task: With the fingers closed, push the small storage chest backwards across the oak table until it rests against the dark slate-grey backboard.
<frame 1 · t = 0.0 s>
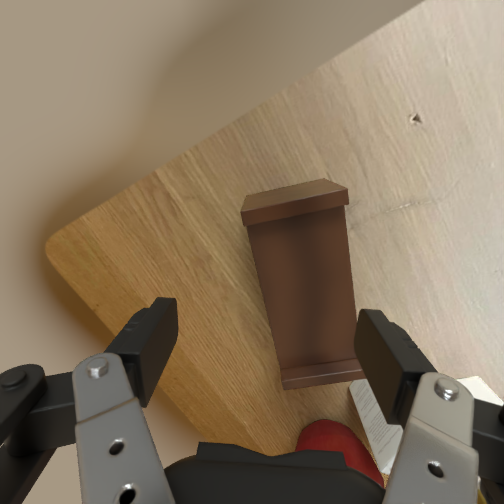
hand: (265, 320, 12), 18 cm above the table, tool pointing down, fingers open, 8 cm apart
jar: (457, 398, 36), on the table
small box: (380, 370, 35), on the table
apple: (323, 427, 39), on the table
storage chest: (299, 266, 31), on the table
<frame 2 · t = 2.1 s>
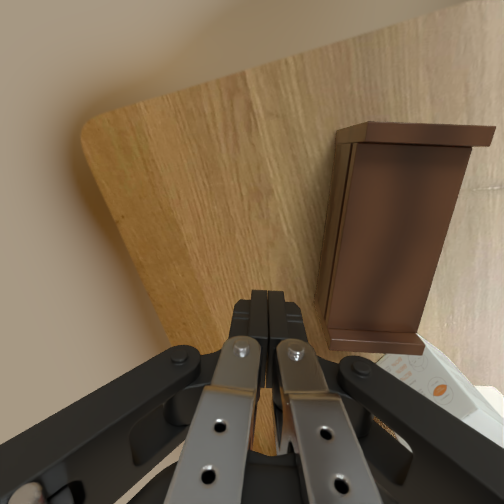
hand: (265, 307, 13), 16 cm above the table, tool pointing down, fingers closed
jar: (465, 406, 36), on the table
small box: (403, 360, 34), on the table
storage chest: (363, 227, 28), on the table
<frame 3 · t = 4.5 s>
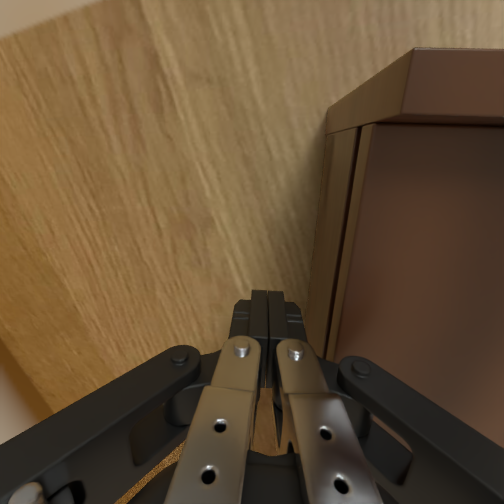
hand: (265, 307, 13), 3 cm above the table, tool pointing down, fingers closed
storage chest: (377, 283, 16), on the table, touching gripper
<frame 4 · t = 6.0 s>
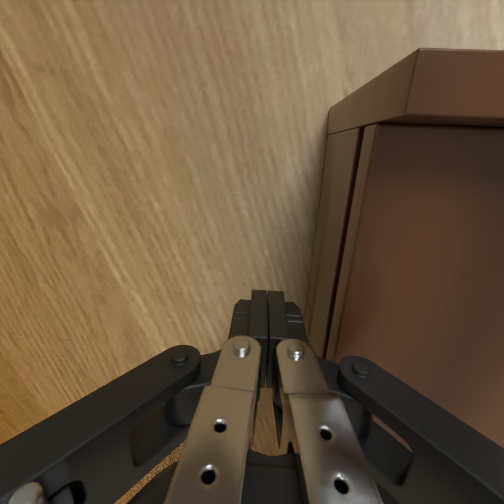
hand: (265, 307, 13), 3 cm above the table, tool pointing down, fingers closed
storage chest: (377, 283, 16), on the table, touching gripper
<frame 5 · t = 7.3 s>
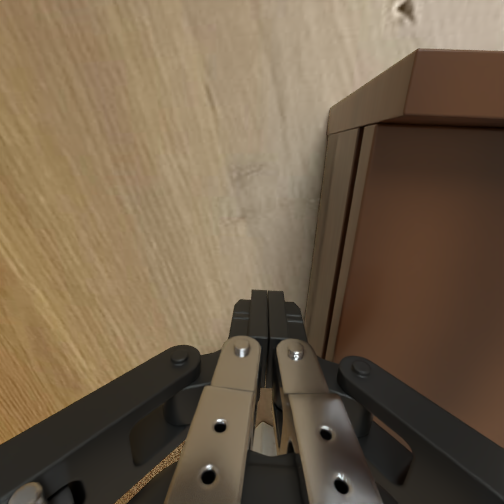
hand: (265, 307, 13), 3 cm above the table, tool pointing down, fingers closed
small box: (260, 459, 22), on the table
storage chest: (377, 283, 16), on the table, touching gripper
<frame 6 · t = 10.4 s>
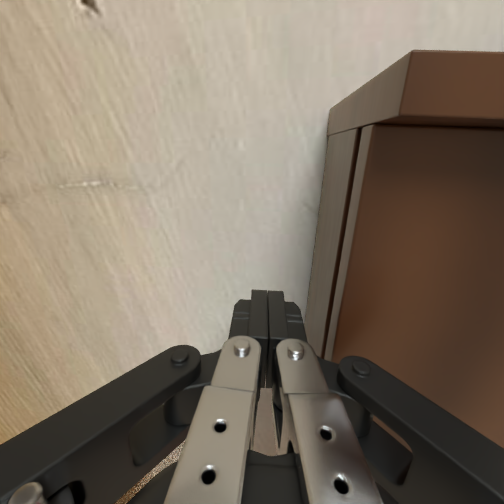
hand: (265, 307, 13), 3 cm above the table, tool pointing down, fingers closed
storage chest: (377, 284, 16), on the table, touching backboard, gripper
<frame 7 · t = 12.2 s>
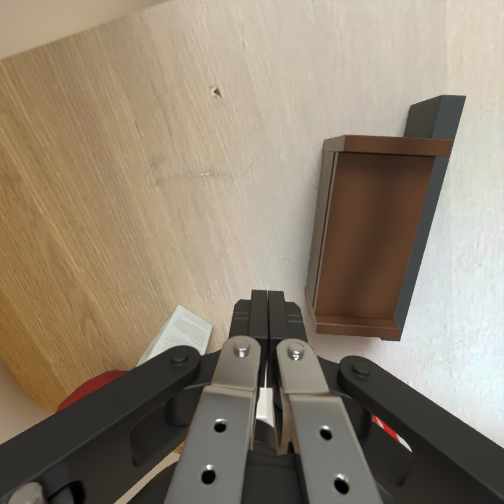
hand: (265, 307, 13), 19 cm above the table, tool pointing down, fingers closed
jar: (249, 376, 39), on the table
small box: (181, 333, 37), on the table
backboard: (394, 224, 31), on the table
apple: (127, 380, 41), on the table
storage chest: (348, 226, 31), on the table
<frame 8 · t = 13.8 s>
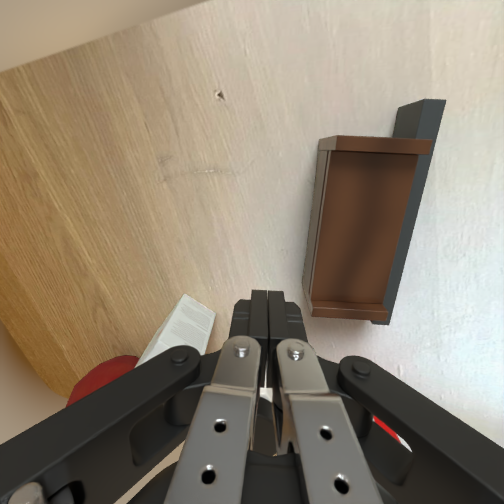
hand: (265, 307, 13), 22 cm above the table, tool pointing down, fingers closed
jar: (250, 361, 42), on the table
small box: (187, 320, 40), on the table
backboard: (384, 217, 33), on the table
apple: (135, 366, 43), on the table
storage chest: (342, 219, 34), on the table
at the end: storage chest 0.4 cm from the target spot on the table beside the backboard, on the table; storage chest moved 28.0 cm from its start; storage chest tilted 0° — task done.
